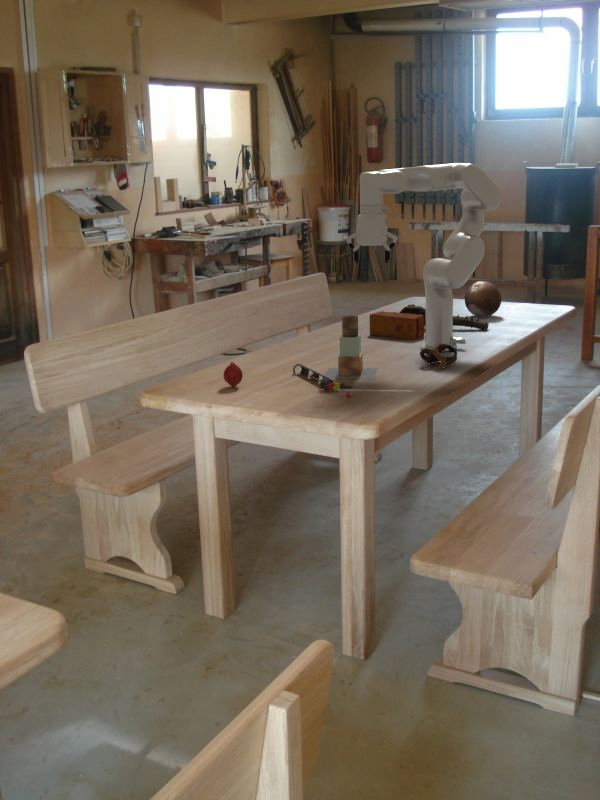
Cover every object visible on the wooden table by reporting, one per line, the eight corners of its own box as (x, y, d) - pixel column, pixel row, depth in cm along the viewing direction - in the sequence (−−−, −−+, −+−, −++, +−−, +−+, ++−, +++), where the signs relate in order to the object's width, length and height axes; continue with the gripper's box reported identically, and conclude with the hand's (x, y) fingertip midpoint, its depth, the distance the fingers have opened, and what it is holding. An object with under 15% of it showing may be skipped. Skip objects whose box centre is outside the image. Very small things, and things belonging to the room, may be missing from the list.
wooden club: (488, 329, 365) (489, 304, 362) (488, 332, 360) (488, 306, 358) (389, 328, 374) (389, 303, 371) (387, 330, 369) (387, 305, 367)
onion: (226, 384, 290) (224, 359, 288) (244, 384, 290) (243, 359, 288) (222, 389, 285) (221, 363, 283) (241, 389, 284) (240, 363, 282)
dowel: (358, 334, 298) (358, 315, 296) (357, 337, 293) (357, 318, 291) (343, 334, 299) (342, 315, 297) (341, 337, 294) (341, 318, 292)
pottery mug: (451, 363, 312) (459, 344, 307) (451, 381, 305) (459, 362, 300) (416, 355, 312) (423, 336, 306) (416, 373, 305) (423, 354, 299)
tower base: (362, 370, 302) (362, 352, 300) (360, 375, 295) (360, 357, 293) (341, 370, 303) (340, 352, 301) (338, 375, 296) (338, 356, 295)
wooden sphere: (458, 318, 388) (459, 282, 384) (472, 312, 400) (473, 277, 396) (493, 321, 380) (494, 284, 376) (506, 315, 392) (507, 279, 388)
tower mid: (360, 352, 300) (360, 334, 298) (359, 356, 294) (358, 337, 292) (342, 352, 301) (341, 333, 299) (339, 356, 295) (339, 337, 293)
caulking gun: (319, 365, 303) (290, 362, 299) (371, 390, 270) (341, 387, 266) (317, 377, 304) (289, 374, 300) (369, 403, 271) (338, 401, 267)
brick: (413, 318, 346) (413, 340, 348) (425, 314, 352) (425, 336, 355) (368, 314, 357) (369, 336, 360) (380, 310, 364) (381, 331, 366)
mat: (377, 369, 304) (377, 368, 304) (374, 379, 291) (374, 378, 291) (328, 368, 307) (328, 367, 307) (322, 379, 294) (322, 377, 294)
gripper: (398, 209, 310) (398, 261, 315) (346, 210, 313) (347, 261, 318) (397, 210, 303) (397, 264, 308) (344, 211, 306) (344, 264, 310)
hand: (372, 262), depth 313 cm, fingers open, 9 cm apart
